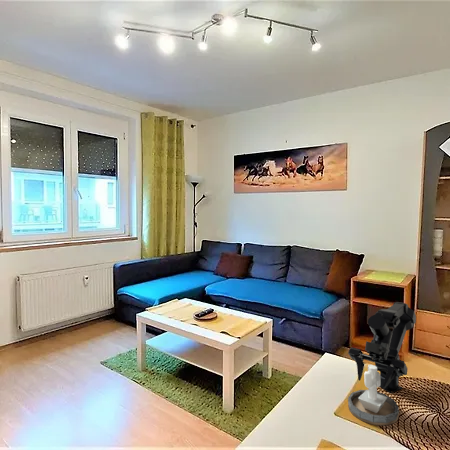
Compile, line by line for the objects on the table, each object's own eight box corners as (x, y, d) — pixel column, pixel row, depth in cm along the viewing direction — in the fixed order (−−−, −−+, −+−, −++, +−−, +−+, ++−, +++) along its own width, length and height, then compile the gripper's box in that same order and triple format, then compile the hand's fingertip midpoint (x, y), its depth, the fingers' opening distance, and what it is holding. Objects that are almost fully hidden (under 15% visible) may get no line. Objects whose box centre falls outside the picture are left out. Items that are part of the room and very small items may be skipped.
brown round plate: (372, 392, 125) (372, 390, 125) (409, 417, 111) (409, 414, 111) (338, 403, 119) (338, 401, 119) (373, 431, 105) (373, 428, 105)
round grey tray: (372, 391, 125) (371, 386, 125) (408, 414, 111) (408, 409, 111) (339, 401, 119) (339, 396, 119) (373, 428, 105) (373, 422, 105)
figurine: (388, 405, 116) (388, 364, 115) (378, 418, 109) (378, 374, 108) (367, 397, 121) (367, 358, 120) (356, 409, 114) (356, 367, 113)
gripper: (349, 326, 123) (337, 366, 115) (405, 338, 110) (395, 384, 103) (358, 339, 129) (347, 378, 121) (411, 352, 116) (402, 397, 109)
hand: (371, 384), depth 113 cm, fingers open, 8 cm apart
